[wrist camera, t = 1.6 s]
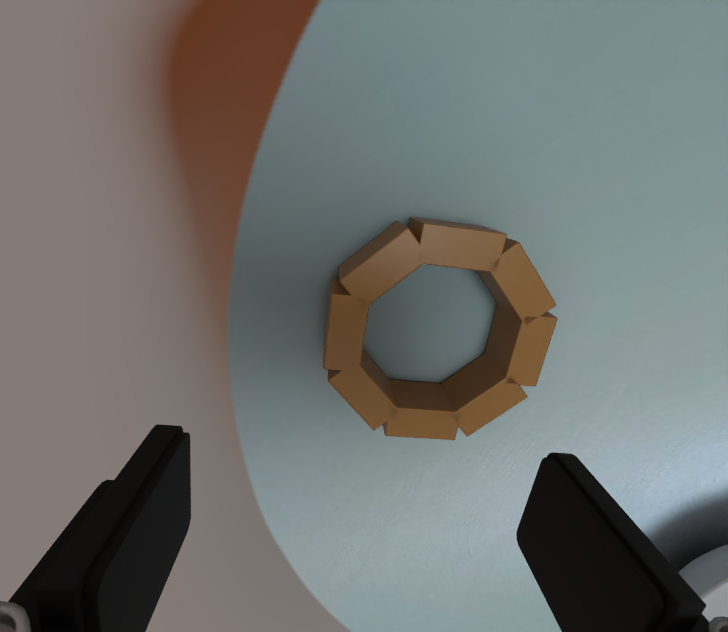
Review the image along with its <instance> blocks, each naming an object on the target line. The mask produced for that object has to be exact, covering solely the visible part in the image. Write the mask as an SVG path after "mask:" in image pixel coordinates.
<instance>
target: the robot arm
mask: <svg viewBox="0 0 728 632" xmlns="http://www.w3.org/2000/svg"><path fill="white" fill-rule="evenodd" d="M190 519H191V486H190V435H189V433H184V432H183V429H182V427H181V426H172V425H156V426H155V427H154V428H153V429H152V430H151V431H150V433H149V434H148V435H147V437H146V438H145V440H144V441H143V442H142V444H141V445H140V446H139V448H138V449H137V450H136V452H135V453H134V454H133V456H132V457H131V458H130V460H129V461H128V462H127V464H126V465H125V467H124V468H123V469H122V470H121V472H120V473H119V475H118V476H117V478H116V479H115V480H106V481H104V482H102V483H101V484H100V485H99V486H98V487H97V488H96V490H95V491H94V492H93V493H92V495H91V496H90V497H89V499H88V500H87V501H86V502H85V504H84V505H83V506H82V508H81V509H80V510H79V511H78V513H77V514H76V515H75V517H74V518H73V519H72V521H71V522H70V523H69V524H68V526H67V527H66V528H65V530H64V531H63V532H62V533H61V535H60V536H59V537H58V538H57V540H56V541H55V542H54V544H53V545H52V546H51V547H50V549H49V550H48V551H47V552H46V554H45V555H44V556H43V558H42V559H41V560H40V562H39V563H38V564H37V565H36V567H35V568H34V569H33V570H32V572H31V573H30V574H29V576H28V577H27V578H26V579H25V581H24V582H23V583H22V585H21V586H20V587H19V588H18V590H17V591H16V592H15V594H14V595H13V596H12V597H11V599H10V600H9V601H8V602H2V601H1V602H0V632H145V631H146V629H147V626H148V624H149V622H150V619H151V617H152V614H153V612H154V610H155V607H156V605H157V603H158V600H159V598H160V595H161V593H162V591H163V588H164V586H165V583H166V581H167V579H168V577H169V574H170V572H171V569H172V567H173V565H174V562H175V560H176V558H177V555H178V553H179V550H180V548H181V546H182V543H183V541H184V539H185V536H186V534H187V531H188V528H189V524H190ZM517 542H518V545H519V547H520V549H521V551H522V553H523V555H524V557H525V559H526V561H527V563H528V565H529V567H530V569H531V571H532V573H533V575H534V577H535V579H536V581H537V583H538V585H539V587H540V589H541V591H542V593H543V595H544V597H545V599H546V601H547V603H548V605H549V607H550V609H551V611H552V613H553V615H554V617H555V619H556V621H557V623H558V625H559V627H560V629H561V631H562V632H728V617H725V616H721V617H714V618H713V619H712V620H711V621H710V622H709V621H708V620H707V619H706V618H705V616H704V615H703V614H702V612H703V611H704V609H705V607H706V606H707V605H706V604H705V603H704V602H703V600H702V599H701V598H700V597H699V596H698V595H697V594H696V592H695V591H694V590H693V589H692V588H691V587H690V586H689V584H688V583H687V582H686V581H685V580H684V579H683V578H682V577H681V575H680V574H679V573H678V572H677V571H676V570H675V569H674V567H673V566H672V565H671V564H670V563H669V562H668V561H667V559H666V558H665V557H664V556H663V555H662V554H661V553H660V551H659V550H658V549H657V548H656V547H655V546H654V545H653V543H652V542H651V541H650V540H649V539H648V538H647V537H646V535H645V534H644V533H643V532H642V531H641V530H640V529H639V528H638V526H637V525H636V524H635V523H634V522H633V521H632V520H631V518H630V517H629V516H628V515H627V514H626V513H625V512H624V510H623V509H622V508H621V507H620V506H619V505H618V504H617V502H616V501H615V500H614V499H613V498H612V497H611V496H610V494H609V493H608V492H607V491H606V490H605V489H604V488H603V486H602V485H601V484H600V483H599V482H598V481H597V480H596V478H595V477H594V476H593V475H592V474H591V473H590V472H589V471H588V469H587V468H586V467H585V466H584V465H583V464H582V463H581V461H580V460H579V459H578V458H577V457H576V456H575V455H573V454H566V453H550V454H549V455H548V456H547V458H544V459H542V461H541V464H540V467H539V470H538V472H537V475H536V478H535V481H534V484H533V487H532V490H531V492H530V495H529V498H528V501H527V504H526V507H525V509H524V512H523V515H522V518H521V521H520V524H519V527H518V529H517Z"/></svg>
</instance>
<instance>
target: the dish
mask: <svg viewBox="0 0 728 632" xmlns="http://www.w3.org/2000/svg"><path fill="white" fill-rule="evenodd" d="M678 573H679V574H680V575H681V577H682V578H683V579H684V580H685V581H686V582H687V583H688V584H689V586H690V587H691V588H692V589H693V590H694V591H695V592H696V594H697V595H698V596H699V597H700V598H701V599H702V600H703V602H704V603H705V604H706V605H707V606H706V607H705V609H704V611H703V612H702V614H703V615H704V616H705V618H706V619H707V620H708V621H709V622H710V621H711V620H712V619H713V618H714V617H721V616H725V617H728V544H727V545H724V546H721V547H719V548H716V549H714V550H711V551H709V552H707V553H705V554H703V555H702V556H700V557H698V558H696V559H695V560H693V561H692V562H690V563H689V564H688V565H686V566H685V567H684V568H683V569H681V570H680V571H679V572H678Z"/></svg>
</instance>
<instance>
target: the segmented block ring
mask: <svg viewBox="0 0 728 632" xmlns="http://www.w3.org/2000/svg"><path fill="white" fill-rule="evenodd" d="M506 236H507V234H505V233H502V232H499V231H496V230H493V229H489V228H486V227H483V226H477V225H470V224H462V223H455V222H447V221H440V220H432V219H425V218H417V217H410V222H409V228H408V227H406V226H405V225H403V224H402V223H400V222H398V221H396V222H395V223H394V224H392V225H391V226H390V227H388V228H387V229H386V230H385V231H383V232H382V233H381V234H379V235H378V236H377V237H376V238H374V239H373V240H372V241H370V242H369V243H368V244H367V245H365V246H364V247H363V248H361V249H360V250H359V251H358V252H356V253H355V254H354V255H352V256H351V257H350V258H349V259H347V260H346V261H345V262H343V263H342V264H341V265H340V266H339V279H336V278H332V279H331V287H330V296H329V305H328V315H327V324H326V333H325V342H324V361H323V368H324V369H328V382H329V383H330V384H331V385H332V386H333V387H334V388H335V390H336V391H337V392H338V393H339V394H340V395H341V396H342V397H343V398H344V399H345V400H346V401H347V402H348V403H349V405H350V406H351V407H352V408H353V409H354V410H355V411H356V412H357V413H358V414H359V415H360V416H361V417H362V418H363V420H364V421H365V422H366V423H367V424H368V425H369V426H370V427H371V428H372V429H373V430H375V429H377V428H378V427H380V426H381V425H383V428H384V433H385V436H398V437H414V438H430V439H445V440H455V437H456V433H457V429H458V427H459V428H460V429H461V430H462V431H463V433H464V434H465V435H466V436H469V435H470V434H472V433H473V432H475V431H476V430H478V429H480V428H481V427H483V426H484V425H486V424H487V423H489V422H490V421H492V420H493V419H495V418H496V417H498V416H499V415H501V414H502V413H504V412H505V411H507V410H509V409H510V408H512V407H513V406H515V405H516V404H518V403H519V402H521V401H522V400H524V399H525V398H527V395H526V393H525V392H524V391H523V389H522V388H521V386H520V385H523V386H536V384H537V381H538V378H539V375H540V372H541V368H542V365H543V362H544V359H545V356H546V353H547V350H548V347H549V343H550V340H551V337H552V334H553V331H554V328H555V325H556V322H557V317H555V316H553V315H552V314H550V313H549V312H547V311H549V310H550V309H552V308H553V307H555V306H556V303H555V301H554V299H553V298H552V296H551V294H550V293H549V291H548V289H547V288H546V286H545V284H544V283H543V281H542V279H541V278H540V276H539V274H538V273H537V271H536V269H535V268H534V266H533V264H532V263H531V261H530V259H529V258H528V256H527V254H526V253H525V251H524V249H523V248H522V246H521V244H520V243H519V242H517V241H514V240H511V239H508V238H506ZM423 264H429V265H437V266H446V267H454V268H462V269H471V270H476V271H477V273H478V274H479V276H480V277H481V279H482V280H483V282H484V283H485V285H486V286H487V288H488V289H489V291H490V292H491V294H492V295H493V297H494V298H495V300H496V301H497V303H498V304H497V307H496V311H495V315H494V319H493V323H492V327H491V330H490V334H489V338H488V342H487V346H486V349H485V353H484V354H483V355H481V356H480V357H478V358H477V359H476V360H474V361H473V362H471V363H470V364H468V365H467V366H465V367H464V368H462V369H461V370H460V371H458V372H457V373H455V374H454V375H452V376H451V377H449V378H448V379H446V380H445V381H444V382H442V383H441V384H438V383H426V382H413V381H401V380H389V379H388V378H387V377H386V376H385V374H384V373H383V372H382V371H381V370H380V369H379V367H378V366H377V365H376V364H375V363H374V362H373V360H372V359H371V358H370V357H369V356H368V355H367V353H366V352H365V351H364V350H363V343H364V336H365V329H366V322H367V315H368V308H369V304H371V303H372V302H373V301H375V300H376V299H377V298H379V297H380V296H381V295H383V294H384V293H385V292H387V291H388V290H389V289H391V288H392V287H393V286H395V285H396V284H397V283H399V282H400V281H401V280H403V279H404V278H405V277H407V276H408V275H409V274H411V273H412V272H413V271H415V270H416V269H417V268H419V267H420V266H421V265H423Z"/></svg>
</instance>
